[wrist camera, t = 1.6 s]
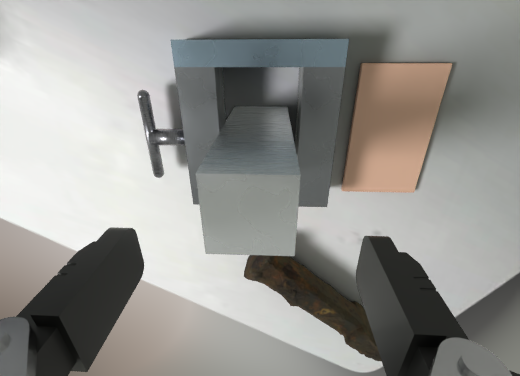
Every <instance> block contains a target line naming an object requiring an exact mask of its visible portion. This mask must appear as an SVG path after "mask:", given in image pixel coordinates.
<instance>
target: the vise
mask: <svg viewBox="0 0 520 376" xmlns="http://www.w3.org/2000/svg"><path fill="white" fill-rule="evenodd" d="M348 43H349V39H214V40H171V47H172V54H173V61H174V68H175V75H176V82H177V90H178V97H179V104H180V111H181V118H182V126H183V129H156V127H155V122H154V117H153V111H152V106H151V101H150V95H149V93H148V92H147V91H145V90H140V91H139V92H138V94H137V96H138V101H139V106H140V111H141V115H142V120H143V125H144V130H145V135H146V140H147V144H148V149H149V154H150V159H151V164H152V169H153V173H154V176H155V177H157V178H160V177H162V176H163V175H164V170H163V165H162V159H161V154H160V149H159V145H185V147H186V154H187V161H188V169H189V176H190V183H191V190H192V197H193V204H199V197H198V189H197V181H196V172H197V170H198V169H199V167H200V165H201V163H202V162H203V160H204V158H205V157H206V155H207V153H208V151H209V150H210V148H211V146H212V145H213V143H214V141H215V139H216V138H217V136H218V134H219V132H220V131H221V129H222V127H223V126H224V124H225V122H226V114H225V98H224V83H223V67H300V68H299V85H298V102H297V119H296V137H295V149H296V154H297V159H298V164H299V170H300V175H301V176H300V190H299V204H298V206H304V207H327V203H328V196H329V188H330V180H331V173H332V165H333V157H334V150H335V142H336V134H337V127H338V119H339V111H340V104H341V96H342V89H343V81H344V73H345V66H346V58H347V50H348Z"/></svg>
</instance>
